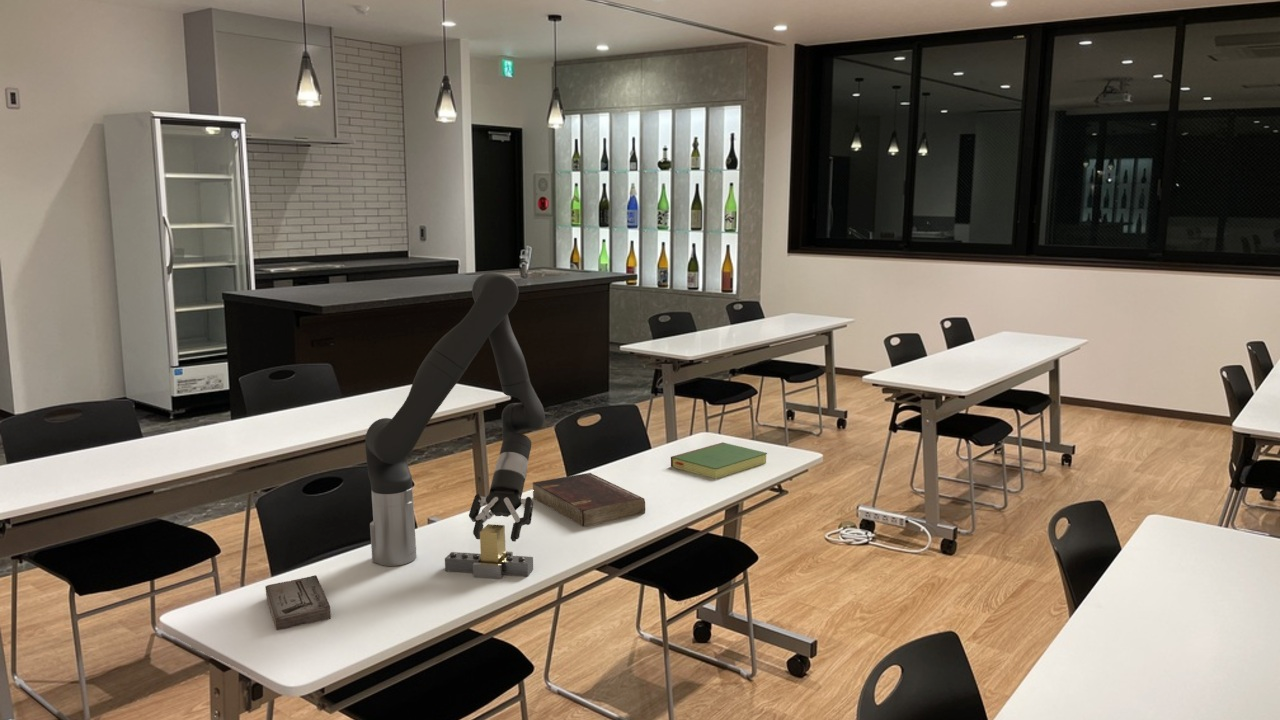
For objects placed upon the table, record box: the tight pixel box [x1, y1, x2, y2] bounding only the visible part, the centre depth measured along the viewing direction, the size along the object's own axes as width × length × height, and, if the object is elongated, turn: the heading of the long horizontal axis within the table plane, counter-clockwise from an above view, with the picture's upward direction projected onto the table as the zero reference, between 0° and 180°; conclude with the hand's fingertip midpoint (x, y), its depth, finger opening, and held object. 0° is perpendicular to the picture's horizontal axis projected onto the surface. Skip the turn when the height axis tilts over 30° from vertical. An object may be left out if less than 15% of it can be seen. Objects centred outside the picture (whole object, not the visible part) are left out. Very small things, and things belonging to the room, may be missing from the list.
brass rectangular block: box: [479, 524, 507, 564], centre depth 211 cm, size 4×5×10 cm
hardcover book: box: [670, 442, 768, 480], centre depth 293 cm, size 25×19×4 cm
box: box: [265, 574, 332, 631], centre depth 193 cm, size 11×17×3 cm, turn 28°
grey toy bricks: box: [444, 551, 534, 580], centre depth 212 cm, size 20×8×4 cm, turn 79°
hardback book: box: [532, 472, 646, 528], centre depth 256 cm, size 29×19×5 cm, turn 33°
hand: (495, 539), depth 212 cm, fingers open, 8 cm apart
